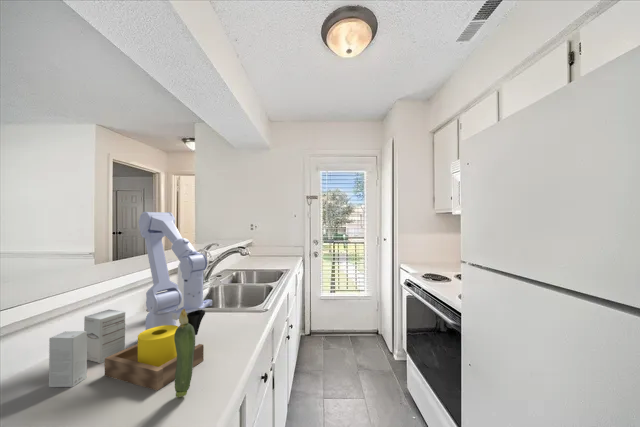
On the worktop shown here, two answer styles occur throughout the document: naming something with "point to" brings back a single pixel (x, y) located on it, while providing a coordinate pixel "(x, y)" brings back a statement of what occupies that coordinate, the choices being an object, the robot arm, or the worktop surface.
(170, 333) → the tape roll
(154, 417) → the worktop surface
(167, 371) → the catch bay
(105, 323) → the supplement box
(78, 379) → the skincare box
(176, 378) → the vegetable
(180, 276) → the bottle
